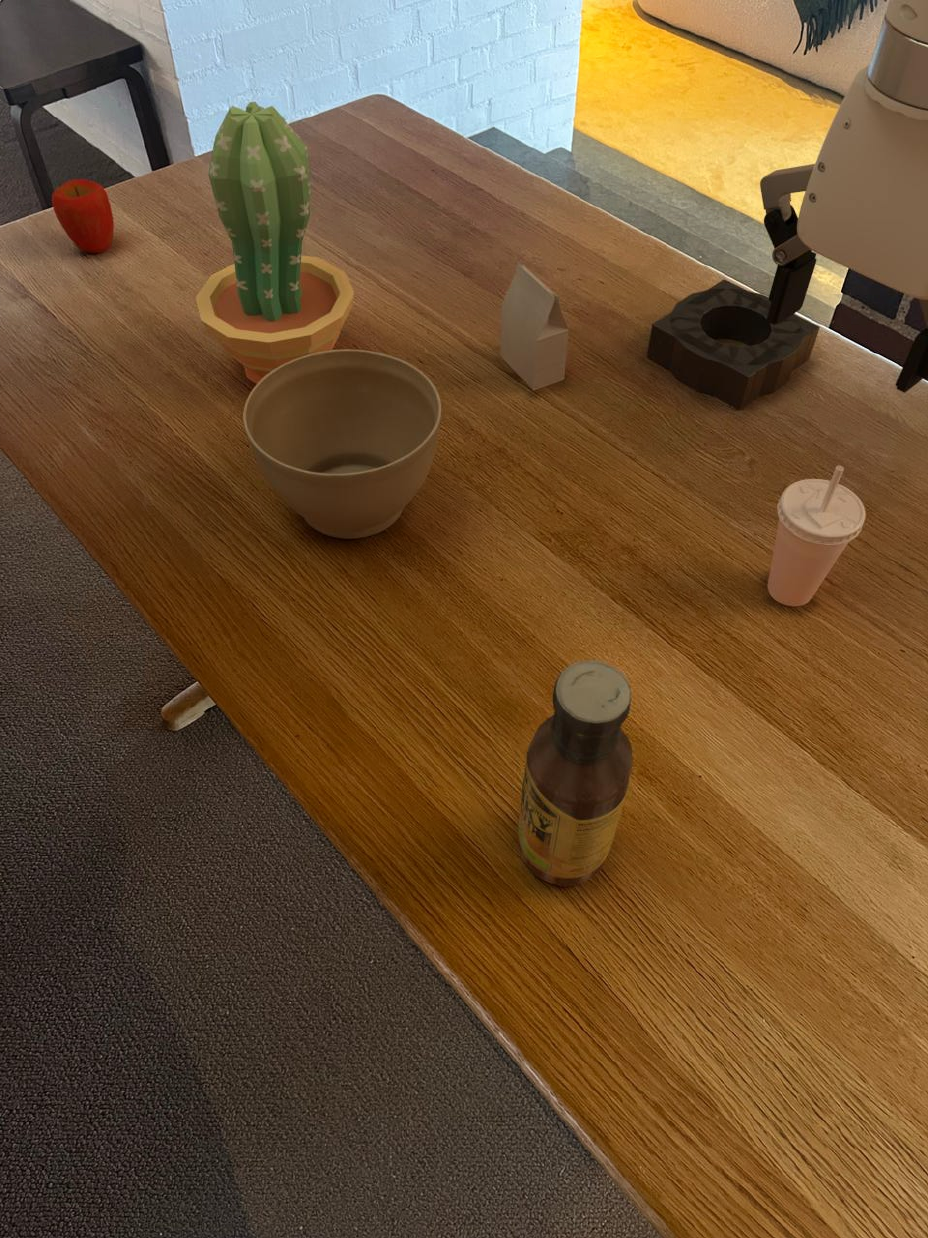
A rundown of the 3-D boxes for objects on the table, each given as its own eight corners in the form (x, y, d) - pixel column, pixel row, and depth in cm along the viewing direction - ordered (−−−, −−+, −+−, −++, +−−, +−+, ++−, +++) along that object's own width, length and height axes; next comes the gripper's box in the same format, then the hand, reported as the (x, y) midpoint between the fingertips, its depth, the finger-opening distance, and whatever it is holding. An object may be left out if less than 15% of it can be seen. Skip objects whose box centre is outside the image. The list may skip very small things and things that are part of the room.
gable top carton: (533, 390, 97) (539, 303, 89) (499, 355, 100) (502, 268, 93) (564, 379, 98) (572, 292, 90) (529, 345, 102) (534, 258, 94)
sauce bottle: (512, 810, 67) (526, 637, 52) (600, 805, 68) (640, 630, 52) (522, 898, 63) (540, 738, 48) (615, 892, 64) (664, 731, 48)
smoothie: (746, 609, 79) (791, 483, 68) (755, 554, 83) (799, 427, 72) (826, 626, 78) (885, 501, 67) (831, 570, 81) (888, 443, 71)
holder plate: (715, 306, 106) (723, 273, 103) (818, 359, 100) (829, 326, 97) (637, 356, 100) (642, 323, 97) (741, 416, 94) (750, 383, 91)
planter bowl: (382, 595, 80) (372, 501, 71) (228, 527, 85) (201, 431, 76) (475, 479, 89) (476, 383, 80) (330, 424, 94) (317, 327, 85)
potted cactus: (388, 343, 102) (370, 96, 82) (308, 428, 93) (267, 174, 74) (267, 305, 106) (223, 62, 87) (181, 383, 98) (110, 132, 78)
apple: (64, 240, 115) (42, 178, 109) (115, 228, 117) (97, 167, 111) (74, 266, 111) (52, 203, 106) (127, 254, 113) (108, 192, 107)
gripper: (1150, 95, 47) (998, 384, 60) (844, -1, 55) (770, 272, 68) (1079, 144, 43) (935, 437, 57) (765, 34, 51) (703, 313, 65)
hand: (845, 347), depth 62 cm, fingers open, 9 cm apart
